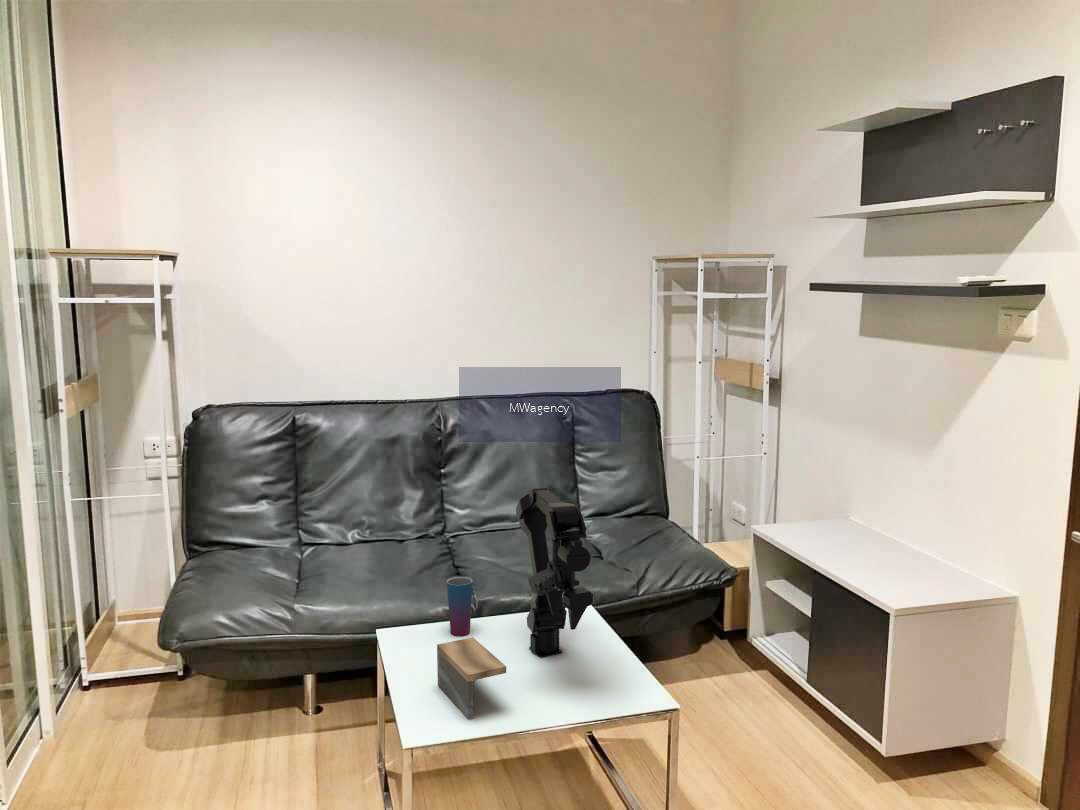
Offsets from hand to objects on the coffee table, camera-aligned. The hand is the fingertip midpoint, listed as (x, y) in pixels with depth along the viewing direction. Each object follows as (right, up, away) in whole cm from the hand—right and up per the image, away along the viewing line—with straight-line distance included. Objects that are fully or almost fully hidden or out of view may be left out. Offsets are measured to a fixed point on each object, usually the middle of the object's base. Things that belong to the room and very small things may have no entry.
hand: (563, 622), depth 201 cm
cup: (-27, -10, +26) cm, 38 cm away
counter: (-21, -14, -10) cm, 27 cm away
